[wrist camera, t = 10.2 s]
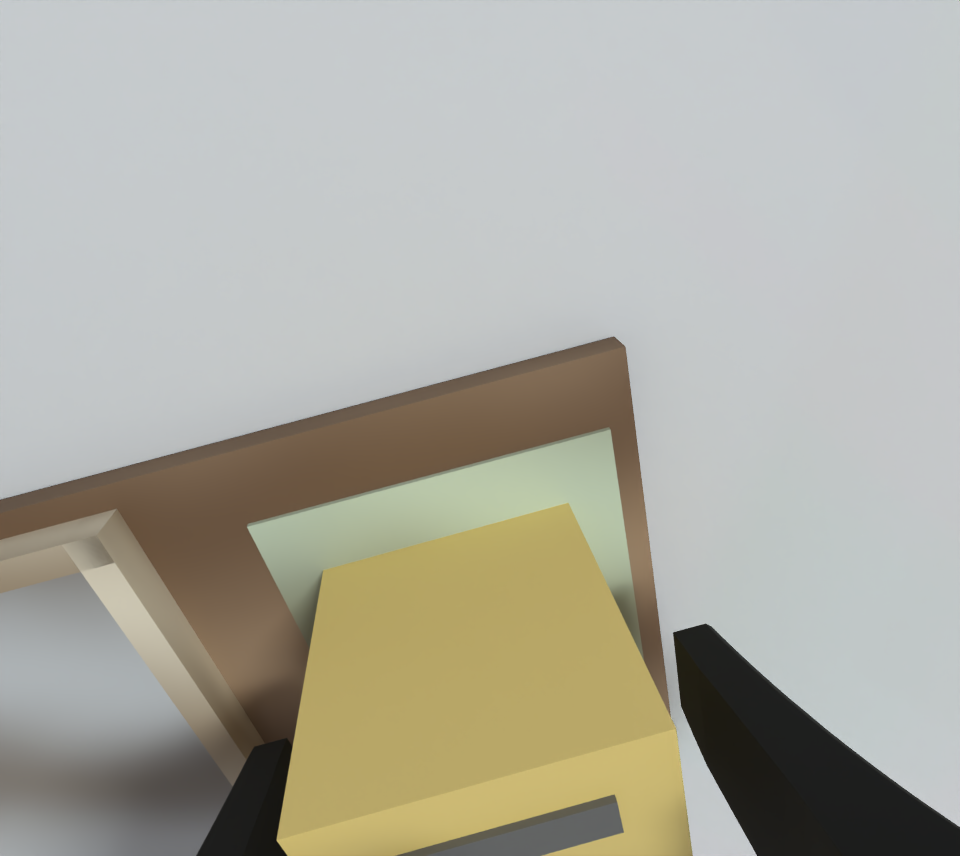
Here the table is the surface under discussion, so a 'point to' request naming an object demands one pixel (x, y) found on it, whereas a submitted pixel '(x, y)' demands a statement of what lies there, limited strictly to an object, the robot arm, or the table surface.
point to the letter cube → (481, 707)
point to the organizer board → (268, 584)
